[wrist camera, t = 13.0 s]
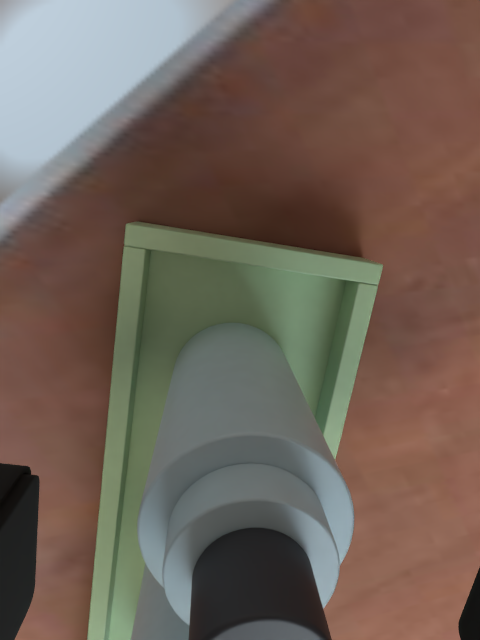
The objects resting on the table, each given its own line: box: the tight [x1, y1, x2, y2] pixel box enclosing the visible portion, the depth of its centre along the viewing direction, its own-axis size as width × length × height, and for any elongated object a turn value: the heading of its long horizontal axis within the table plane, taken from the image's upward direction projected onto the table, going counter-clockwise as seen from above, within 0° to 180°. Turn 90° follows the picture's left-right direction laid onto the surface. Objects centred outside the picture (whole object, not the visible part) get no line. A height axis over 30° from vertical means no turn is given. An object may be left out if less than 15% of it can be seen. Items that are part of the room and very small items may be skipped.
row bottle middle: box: [131, 563, 189, 640], centre depth 14 cm, size 5×5×12 cm
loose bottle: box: [137, 323, 354, 640], centre depth 13 cm, size 5×5×12 cm
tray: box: [87, 221, 383, 640], centre depth 20 cm, size 26×10×2 cm, turn 171°
